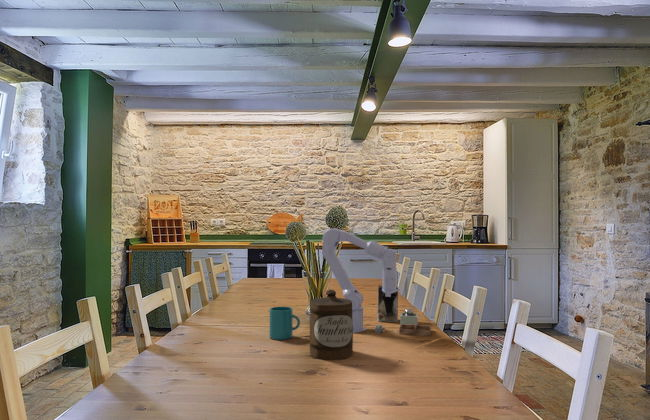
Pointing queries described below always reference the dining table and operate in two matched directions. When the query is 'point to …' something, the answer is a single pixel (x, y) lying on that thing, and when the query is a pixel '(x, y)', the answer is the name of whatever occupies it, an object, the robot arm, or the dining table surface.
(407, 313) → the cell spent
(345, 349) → the wooden container
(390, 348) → the dining table surface
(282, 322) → the cup
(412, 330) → the trough tray
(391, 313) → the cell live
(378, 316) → the coffee box
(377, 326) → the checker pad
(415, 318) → the cup
